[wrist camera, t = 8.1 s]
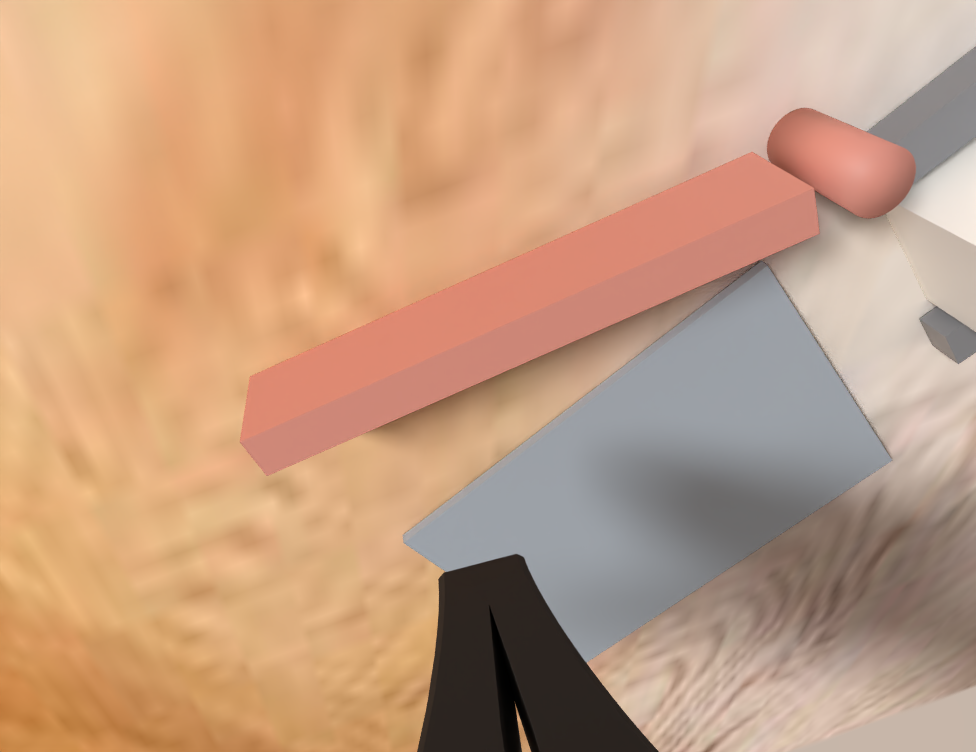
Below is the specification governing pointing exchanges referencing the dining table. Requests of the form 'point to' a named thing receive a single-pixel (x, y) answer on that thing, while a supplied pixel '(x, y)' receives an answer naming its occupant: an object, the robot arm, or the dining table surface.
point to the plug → (943, 233)
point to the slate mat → (667, 468)
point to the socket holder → (932, 139)
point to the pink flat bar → (571, 287)
